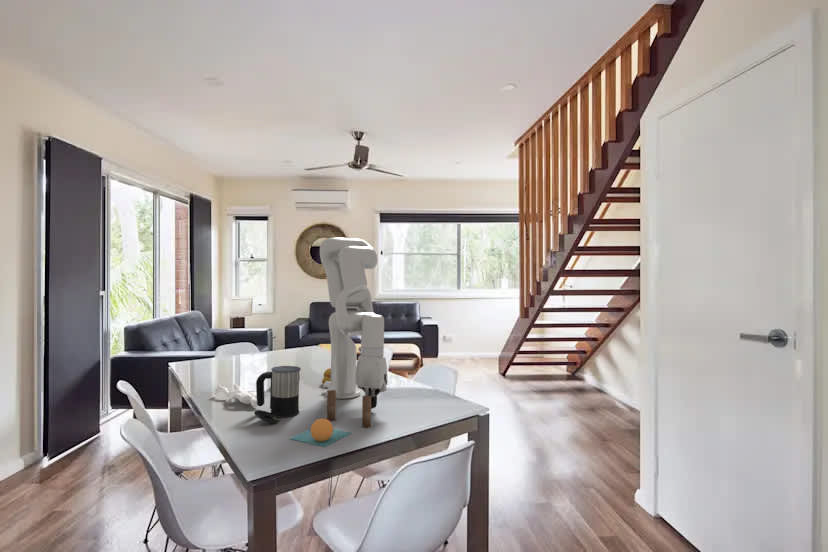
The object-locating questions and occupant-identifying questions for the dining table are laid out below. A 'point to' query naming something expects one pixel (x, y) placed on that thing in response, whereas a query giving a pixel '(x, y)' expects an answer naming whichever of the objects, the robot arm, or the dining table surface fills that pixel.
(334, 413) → the post
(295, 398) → the milk frother
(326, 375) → the bread roll
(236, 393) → the white crumpled cloth
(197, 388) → the dining table surface
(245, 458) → the dining table surface
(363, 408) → the post
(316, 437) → the ball
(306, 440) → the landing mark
